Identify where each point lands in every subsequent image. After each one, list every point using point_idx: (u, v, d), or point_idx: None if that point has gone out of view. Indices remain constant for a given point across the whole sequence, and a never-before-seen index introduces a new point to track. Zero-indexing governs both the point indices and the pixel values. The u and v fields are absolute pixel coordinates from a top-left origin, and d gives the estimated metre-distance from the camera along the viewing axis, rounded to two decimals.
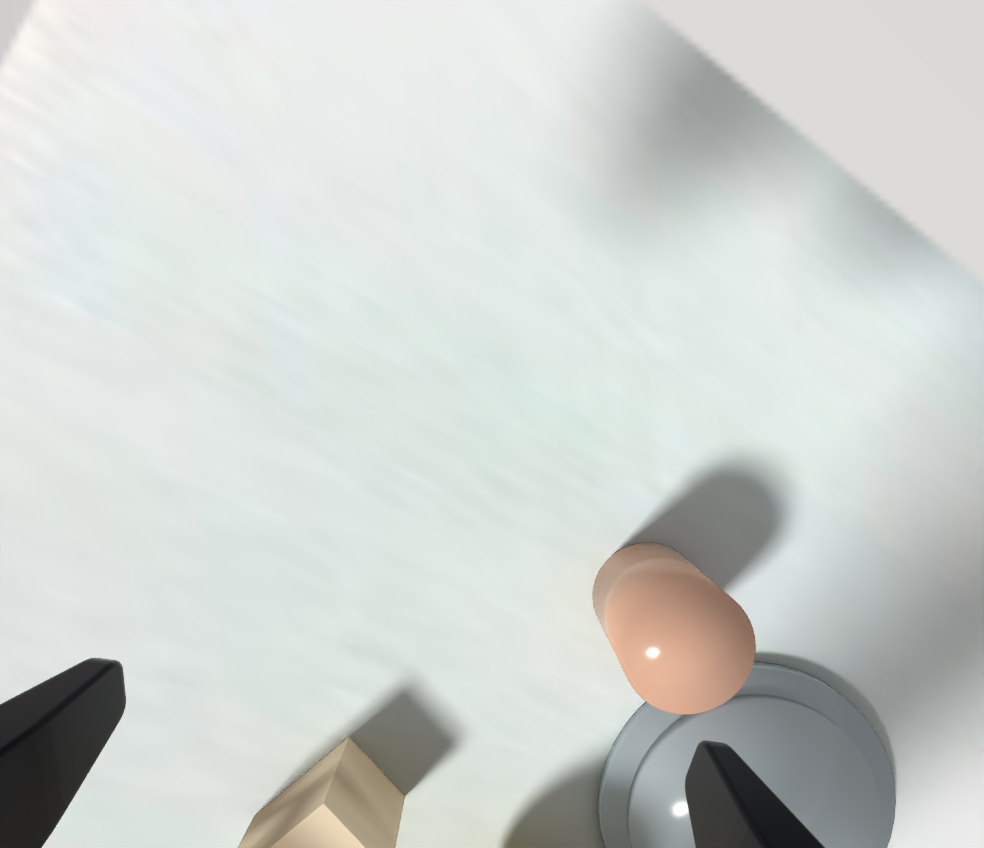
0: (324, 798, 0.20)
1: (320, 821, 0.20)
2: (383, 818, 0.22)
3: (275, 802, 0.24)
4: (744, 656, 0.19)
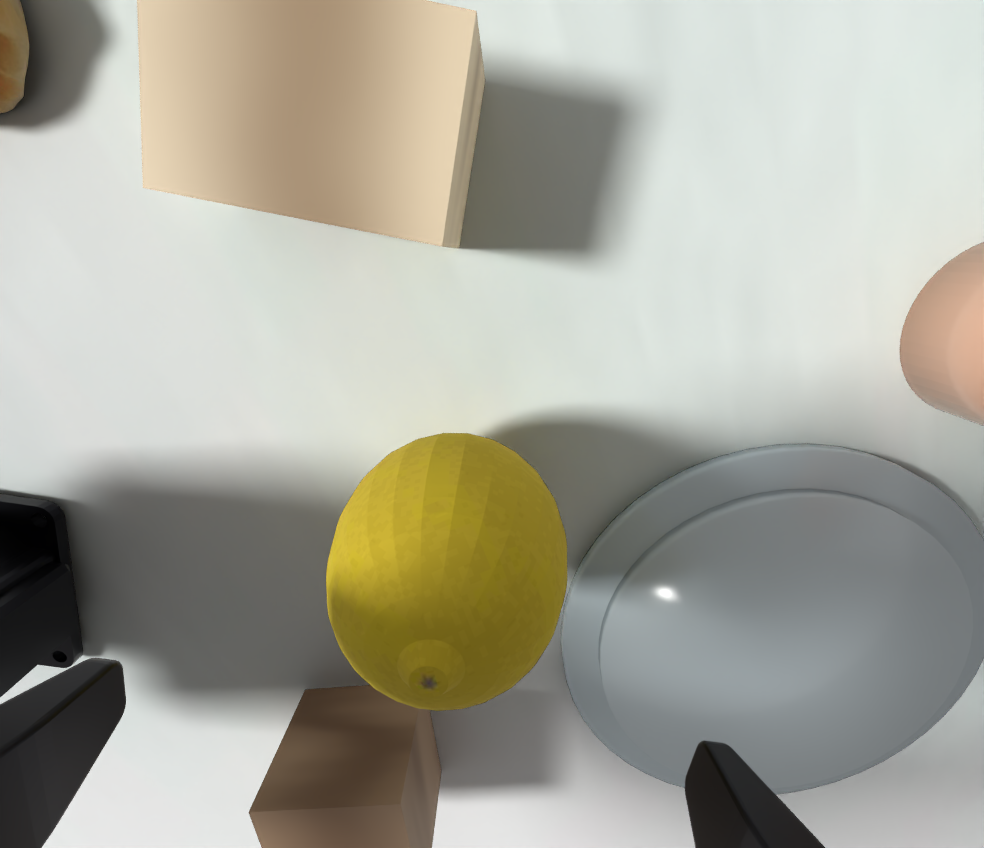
0: None
1: (439, 37, 0.09)
2: (457, 204, 0.12)
3: None
4: None
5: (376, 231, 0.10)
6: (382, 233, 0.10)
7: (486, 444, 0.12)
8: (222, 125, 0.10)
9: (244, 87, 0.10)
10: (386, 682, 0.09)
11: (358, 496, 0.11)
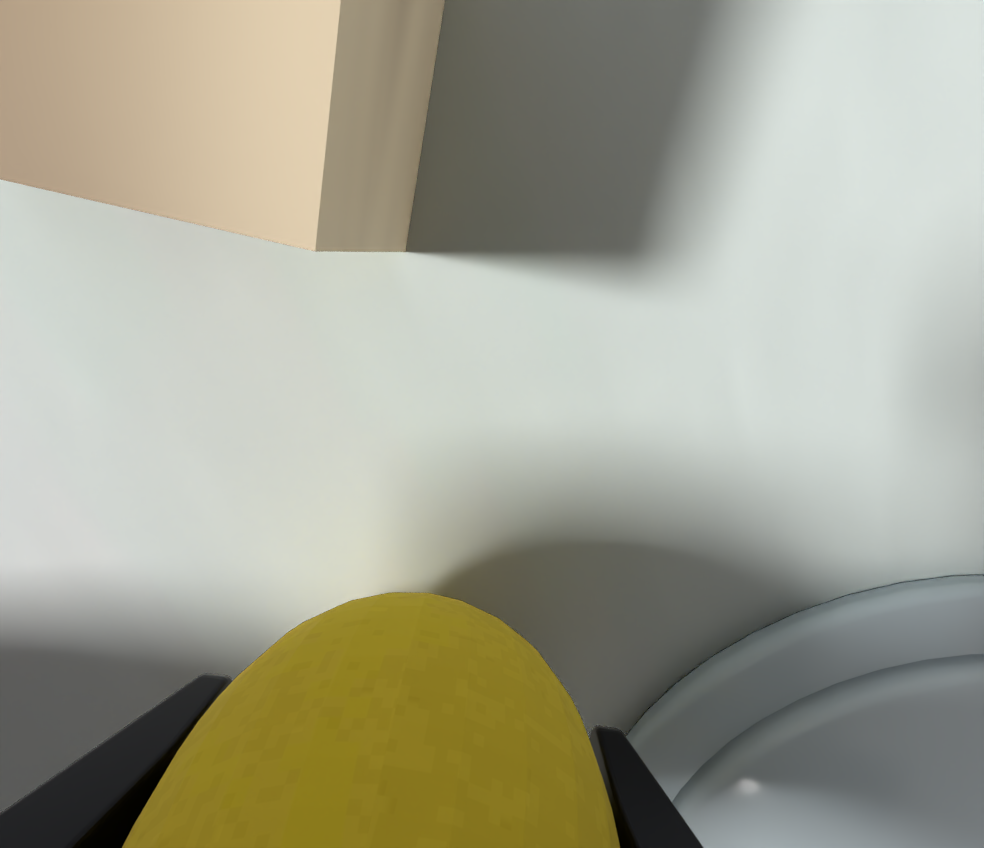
0: None
1: None
2: (384, 160, 0.05)
3: None
4: None
5: (142, 206, 0.04)
6: (158, 212, 0.04)
7: (453, 657, 0.06)
8: None
9: None
10: None
11: (146, 823, 0.05)
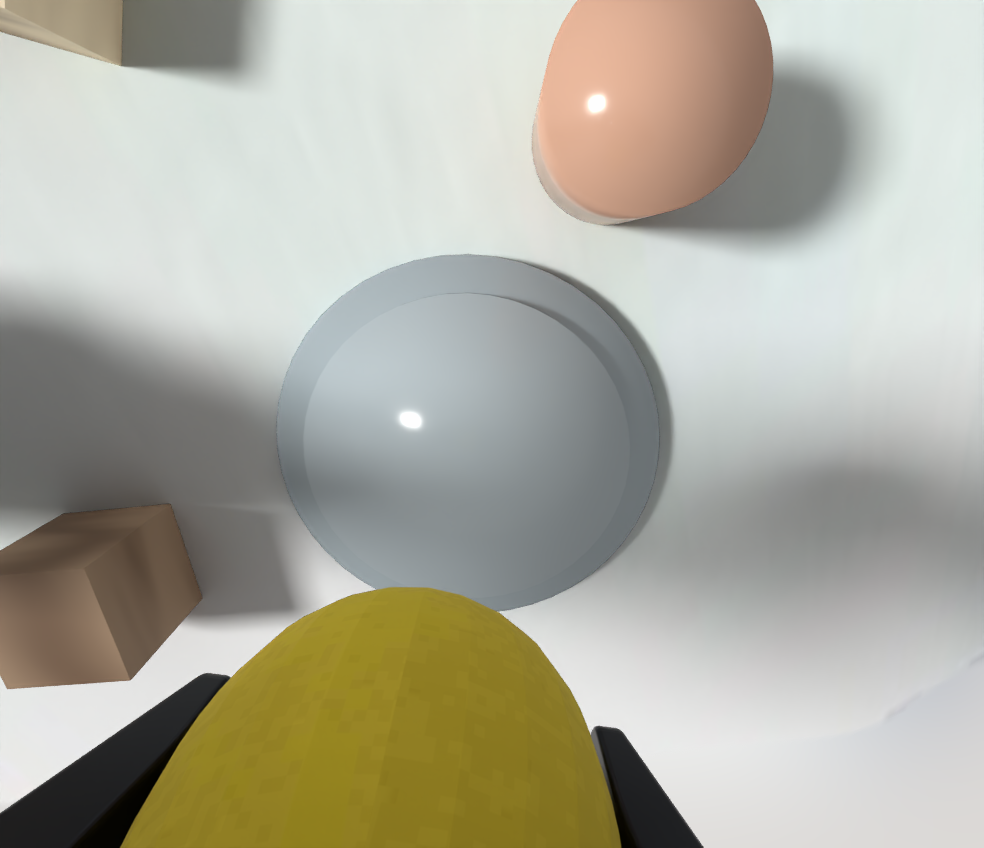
0: None
1: None
2: None
3: None
4: (699, 179, 0.12)
5: None
6: None
7: (453, 649, 0.06)
8: None
9: None
10: None
11: (148, 815, 0.05)
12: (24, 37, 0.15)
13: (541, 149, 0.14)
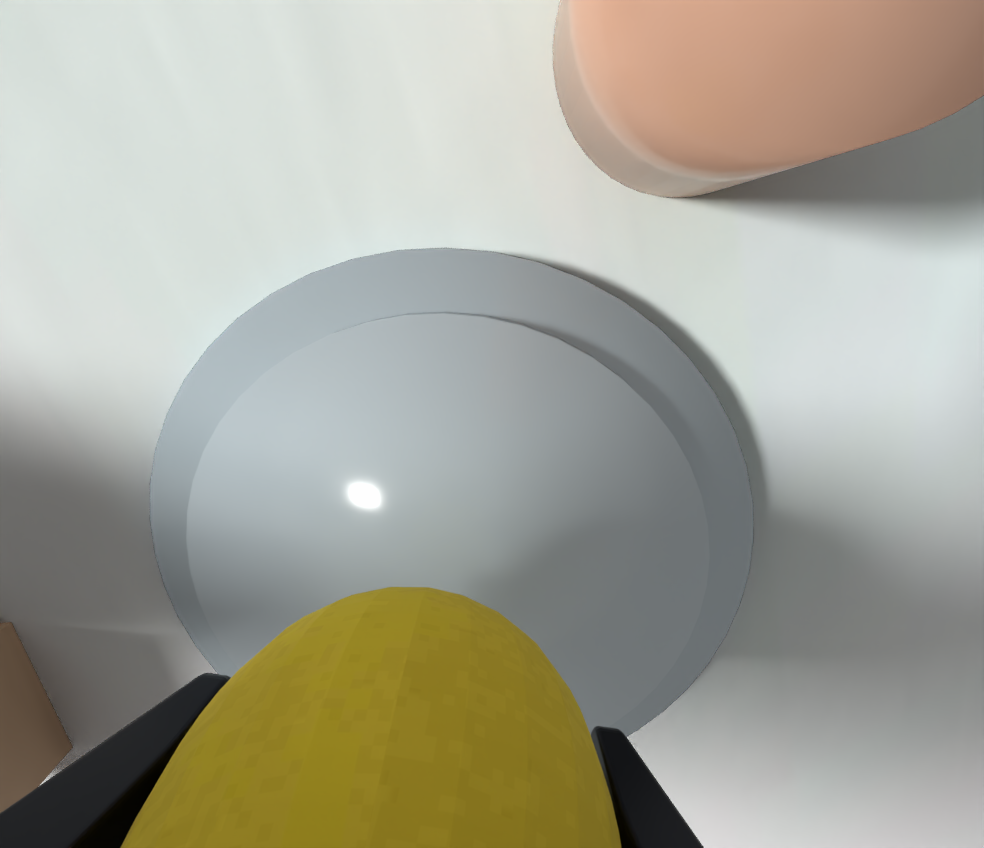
0: None
1: None
2: None
3: None
4: (963, 63, 0.05)
5: None
6: None
7: (453, 649, 0.06)
8: None
9: None
10: None
11: (149, 814, 0.05)
12: None
13: (578, 35, 0.07)
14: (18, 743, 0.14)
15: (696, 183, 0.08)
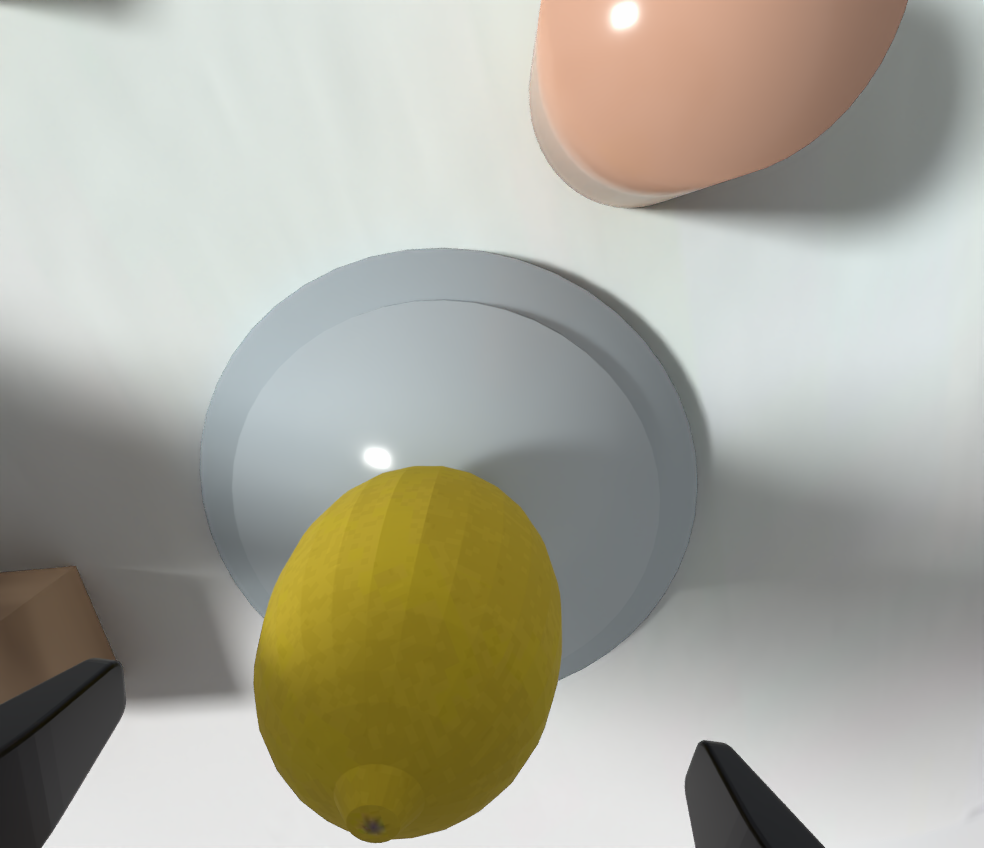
0: None
1: None
2: None
3: None
4: (791, 125, 0.08)
5: None
6: None
7: (461, 482, 0.10)
8: None
9: None
10: (322, 812, 0.07)
11: (298, 553, 0.09)
12: None
13: (542, 92, 0.09)
14: None
15: (636, 198, 0.11)
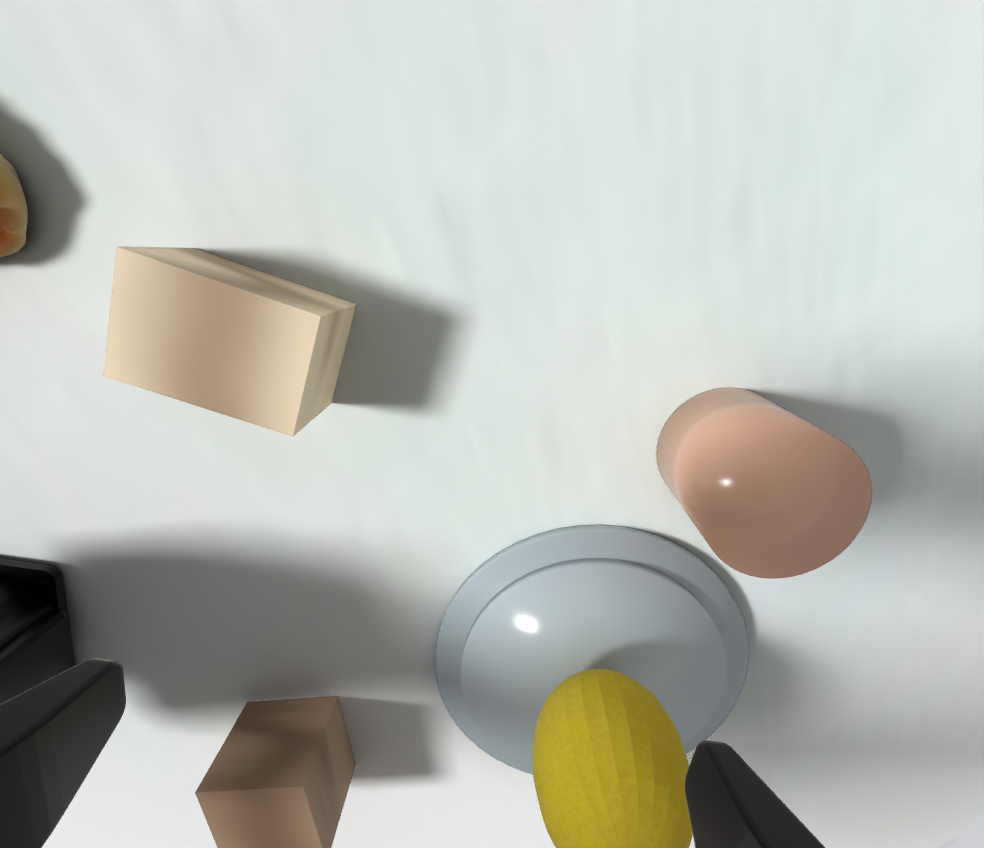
0: (322, 315, 0.15)
1: (297, 325, 0.15)
2: (319, 394, 0.18)
3: (231, 263, 0.18)
4: (813, 558, 0.16)
5: (251, 422, 0.16)
6: (255, 424, 0.16)
7: (633, 697, 0.18)
8: (158, 350, 0.16)
9: (175, 332, 0.15)
10: None
11: (560, 745, 0.17)
12: None
13: (681, 498, 0.18)
14: (342, 763, 0.25)
15: None
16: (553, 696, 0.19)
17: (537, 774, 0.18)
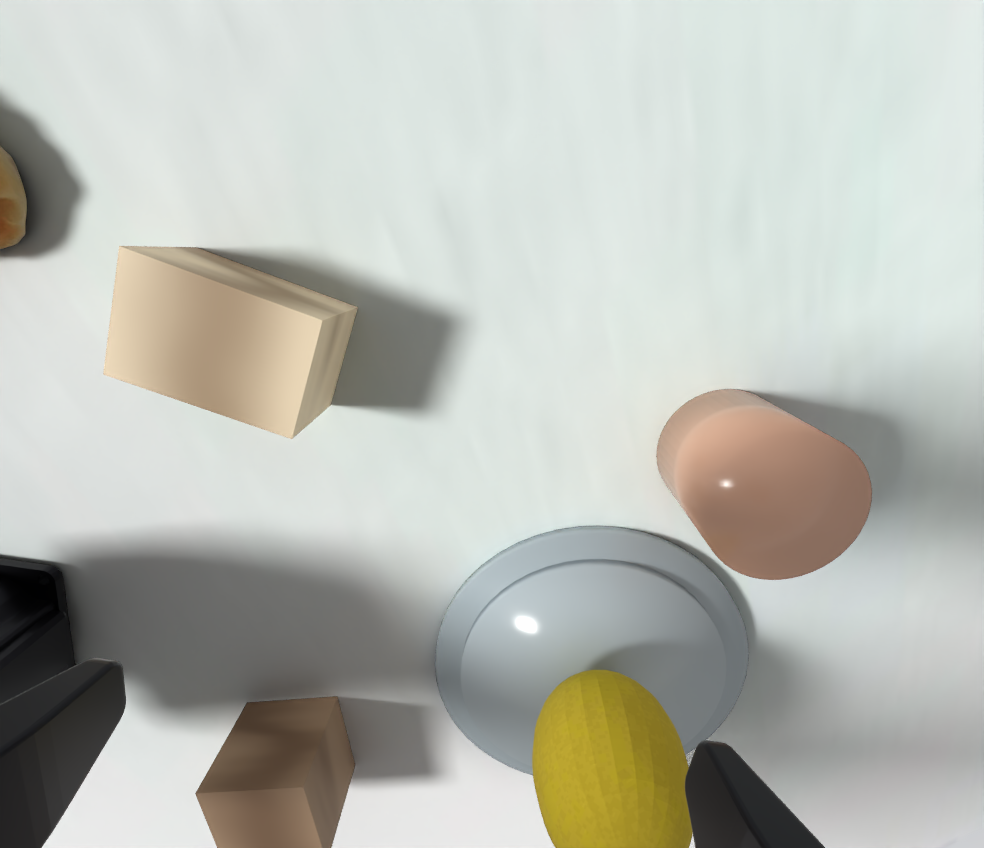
0: (324, 319, 0.15)
1: (299, 329, 0.15)
2: (318, 396, 0.18)
3: (234, 263, 0.18)
4: (813, 560, 0.16)
5: (250, 424, 0.16)
6: (254, 425, 0.16)
7: (633, 698, 0.18)
8: (159, 350, 0.16)
9: (176, 332, 0.15)
10: None
11: (560, 746, 0.17)
12: None
13: (681, 499, 0.18)
14: (342, 763, 0.25)
15: None
16: (553, 697, 0.19)
17: (537, 775, 0.18)
